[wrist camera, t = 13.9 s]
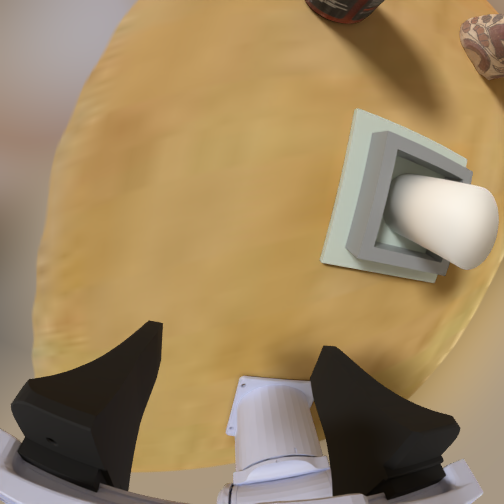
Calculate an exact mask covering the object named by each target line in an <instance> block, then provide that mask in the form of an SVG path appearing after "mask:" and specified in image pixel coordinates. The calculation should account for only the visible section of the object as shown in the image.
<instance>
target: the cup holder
mask: <svg viewBox="0 0 504 504" xmlns="http://www.w3.org/2000/svg"><path fill="white" fill-rule="evenodd" d="M466 164H467V159H466V158H464V157H462V156H460V155H459V154H457V153H455V152H453V151H451V150H450V149H448V148H446V147H444V146H442V145H440V144H438V143H436V142H434V141H433V140H431V139H429V138H426V137H424V136H422V135H420V134H418V133H416V132H414V131H412V130H410V129H407V128H405V127H403V126H401V125H398V124H396V123H394V122H391V121H389V120H387V119H384V118H382V117H379V116H377V115H374V114H372V113H369V112H366V111H364V110H361V109H358V108H357V109H355V110H354V116H353V121H352V126H351V131H350V137H349V142H348V146H347V151H346V156H345V161H344V165H343V170H342V174H341V179H340V183H339V187H338V192H337V196H336V200H335V204H334V208H333V212H332V216H331V220H330V224H329V228H328V232H327V235H326V239H325V243H324V247H323V250H322V254H321V257H320V261H321V262H322V263H326V264H332V265H337V266H343V267H348V268H354V269H359V270H365V271H370V272H376V273H382V274H387V275H393V276H398V277H404V278H409V279H415V280H420V281H426V282H431V283H435V281H436V278H437V275H443V276H445V275H446V272H447V269H448V267H449V264H450V262H449V261H448V260H446V259H444V258H442V257H440V256H439V255H437V254H435V253H433V252H431V251H430V250H428V249H426V248H424V247H422V246H420V245H419V244H417V243H415V242H413V241H411V240H409V239H407V238H405V237H403V236H401V235H400V234H398V233H396V232H394V231H392V230H391V229H390V228H389V227H388V225H387V224H386V222H385V220H384V217H383V212H384V208H385V204H386V200H387V196H388V192H389V188H390V183H391V181H392V180H393V179H394V178H395V177H397V176H398V175H401V174H405V173H409V174H416V175H422V176H428V177H434V178H440V179H445V180H450V181H456V182H461V183H465V184H470V185H471V180H472V174H473V172H472V171H470V170H469V169H467V168H466Z"/></svg>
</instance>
